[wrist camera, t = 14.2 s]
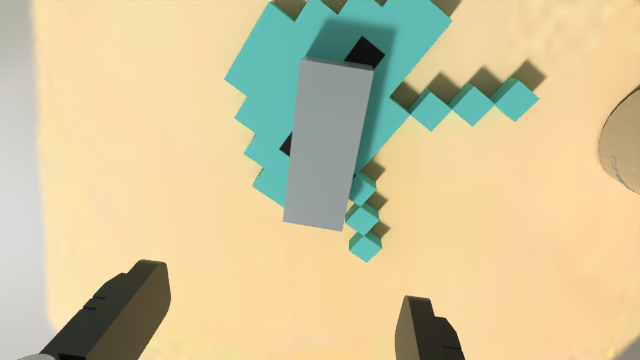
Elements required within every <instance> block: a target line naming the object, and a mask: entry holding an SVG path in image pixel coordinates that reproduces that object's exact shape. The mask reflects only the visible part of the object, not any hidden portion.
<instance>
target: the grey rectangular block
mask: <svg viewBox="0 0 640 360" xmlns="http://www.w3.org/2000/svg"><path fill="white" fill-rule="evenodd" d="M373 74H374V70H373V67H372V65H366V64H359V63H353V62H346V61H340V60H334V59H327V58H321V57H314V56H308V55H305V56H304V57H303V58H302V59H300V67H299V76H298V85H297V95H296V104H295V113H294V122H293V132H292V141H291V150H290V160H289V169H288V178H287V188H286V197H285V206H284V216H283V222H288V223H294V224H300V225H306V226H312V227H318V228H324V229H330V230H336V231H342V229H343V224H344V219H345V214H346V209H347V204H348V199H349V194H350V189H351V184H352V179H353V174H354V169H355V164H356V159H357V154H358V149H359V144H360V139H361V134H362V129H363V124H364V119H365V114H366V109H367V104H368V99H369V94H370V89H371V84H372V79H373Z"/></svg>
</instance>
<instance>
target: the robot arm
mask: <svg viewBox="0 0 640 360" xmlns="http://www.w3.org/2000/svg"><path fill="white" fill-rule="evenodd" d="M598 153H599V158H600V162H601V164H602V166H603V168H604V170H605V171H606V172H607V173H608V174H609V175H610V176H611V177H612V178H614V179H616V180H617V181H619V182H620V183H622V184H623V185H624V186H626V187H627V188H629V189H630V190H632V191H633V192H635V193H637V194H639V195H640V89H639V90H638V91H636V92H635V93H633V94H632V95H630V96H629V97H628V98H627V99H626V100H625V101H623V102H622V103H621V104H620V105H619V106H618V107H617V108H616V110H615V111H614V112H613V113H612V115H611V116H610V117H609V119H608V121H607V122H606V124H605V126H604V128H603V130H602V133H601V136H600V139H599V148H598ZM170 302H171V293H170V285H169V278H168V271H167V265H166V263H164V262H159V261H151V260H144V259H141V260H139V261H138V262H137V263H136V264H135V265H134V266H133V268H132V269H131V270H130V271H129V272H128V273H127V274H126V273H120V274H119V275H117V276H115V277H114V278H112V279H111V280H109V281H107V282H106V283H105V284H104V285H103V286H102V287H101V288H100V289H99V290H98V291H97V292H96V293H95V294H94V295H93V298H92V299H90V300H89V301H88V302H87V303H86V304H85V305H84V306H83V309H80V310H79V311H78V312H77V314H76V315H75V316H74V317H73V318H72V319H71V320H70V321H69V322H68V323H67V324H66V325H65V326H64V327H63V329H62V330H61V331H60V332H59V333H58V334H57V335H56V336H55V337H54V338H53V339H52V340H51V341H50V342H49V344H48V345H47V346H46V347H45V348H44V349H43V350H42V351H41V352H40V353H39V354H35V355H30V356H26V357H23V358H21V359H18V360H138V359H139V357H140V355H141V354H142V352H143V351H144V349H145V347H146V346H147V344H148V343H149V341H150V340H151V338H152V336H153V335H154V333H155V332H156V330H157V328H158V327H159V325H160V324H161V322H162V321H163V319H164V317H165V316H166V314H167V312H168V309H169V306H170ZM461 349H462V348H461V345H460V342H459V339H458V336H457V333H456V331H455V330H454V329H453V327H452V326H451V325H450V323H449V322H448V321H447V319H446V318H443V317H436V316H434V312H433V308H432V304H431V301H430V299H428V298H421V297H414V296H407V295H406V296H405V297H404V300H403V304H402V307H401V311H400V315H399V319H398V323H397V326H396V331H395V352H396V360H465V358H464V354H463V352H462V351H461Z"/></svg>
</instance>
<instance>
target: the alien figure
mask: <svg viewBox="0 0 640 360" xmlns="http://www.w3.org/2000/svg"><path fill="white" fill-rule="evenodd" d="M451 22H452V20H451V19H450V18H449V17H448V16H447V15H446V14H445V13H443V12H442V11H441V10H440V9H439V8H438V7H437V6H436V5H435V4H433V3H432V2H431V1H430V0H386V2H385V3H384V4H383V6H382V7H381V6H380V5H379V4H378V3H377V2H376V1H374V0H348V1H347V2H346V4H345V5H344V7H343V8H342V10H341V11H340V12H339V14H337V13H335V12H334V11H333V10H332V9H331V8H329V7H328V6H327V5H326V4H324V3H323V2H322V1H321V0H308V2H307V3H306V5H305V7H304V8H303V10H302V11H301V13H300V15H299V16H298V18H297V19H296V20H294V19H293V18H292V17H291V16H289V15H288V14H287V13H286V12H284V11H283V10H282V9H281V8H279V7H278V6H277V5H276V4H274V3H272V2H269V3H268V4H267V6H266V8H265V10H264V11H263V13H262V15H261V16H260V18H259V20H258V22H257V23H256V25H255V27H254V28H253V30H252V32H251V34H250V35H249V37H248V39H247V40H246V42H245V44H244V46H243V47H242V49H241V51H240V52H239V54H238V56H237V58H236V59H235V61H234V63H233V64H232V66H231V68H230V70H229V71H228V73H227V75H226V76H225V78H224V80H226V81H227V82H229V83H230V84H231V85H233V86H234V87H235V88H237V89H238V90H240V91H241V92H242V93H244V94H245V95H246V96H248V97H247V98H246V100H245V102H244V103H243V105H242V106H241V108H240V109H239V111H238V113H237V114H236V116H235V117H234V118H235V119H236V120H238V121H239V122H240V123H242V124H243V125H245V126H246V127H248V128H249V129H250V130H252V131H253V132H255V133H256V136H255V137H254V139H253V140H252V142H251V143H250V144H249V146H248V147H247V149H246V150H245V152H244V153H243V154H245V155H246V156H248V157H249V158H251V159H252V160H254V161H255V162H257V163H258V164H259V165H261V166H262V167H264V169H263V170H262V171H261V173H260V174H259V175H258V177H257V178H256V180H255V182H254V183H253V185H252V186H253V187H254V188H256V189H257V190H259V191H260V192H262V193H263V194H265V195H266V196H268V197H269V198H271V199H272V200H274V201H275V202H277V203H278V204H280V205H281V206H283V207H284V206H285V197H286V188H287V178H288V169H289V160H290V150H291V141H292V132H293V122H294V113H295V104H296V95H297V85H298V76H299V67H300V59H302V58H303V57H304V56H305V55H308V56H314V57H321V58H327V59H334V60H340V61H346V62H353V63H359V64H366V65H372V67H373V70H374V74H373V79H372V84H371V89H370V94H369V99H368V104H367V109H366V114H365V119H364V124H363V129H362V134H361V139H360V144H359V149H358V154H357V159H356V164H355V169H354V174H353V179H352V184H351V189H350V194H349V199H350V200H351V201H353V202H354V203H355V204H354V206H353V207H352V208H351V209H350V210H349V211H348V212H347V213H346V214H345V223H346V224H347V225H349V226H350V227H352V228H353V229H355V230H356V231H357V232H358V233H357V234H356V235H355V236H354V237H353V238H352V239H351V240H350V241H349V251H350V252H352V253H353V254H355V255H356V256H358V257H359V258H361V259H362V260H364V261H365V262H368V261H369V260H370V259H371V258H372V257H373V256H374V255H376V254H377V253H378V252H379V251H380V250H381V249H382V244H381V238H379V237H378V236H376V235H375V234H373V233H372V232H370V231H369V230H370V229H371V228H372V227H373V226H374V225H375V224H376V223H377V222H378V221H379V213H378V211H377V210H376V209H374V208H373V207H371V206H370V205H369V204H367V203H366V202H365V201H366V200H367V199H368V198H369V197H370V196H371V195H372V194H373V193H374V192H375V191H376V190H377V189H376V182H375V181H374V180H372V179H371V178H369V177H368V176H367V175H365V174H364V173H363V172H361V170H362V169H363V168H364V166H365V165H366V164H367V163H368V162H369V161H370V160H371V159H372V157H373V156H374V155H375V154H376V153H377V152H378V151H379V150H380V148H381V147H382V146H383V145H384V144H385V143H386V142H387V141H388V139H389V138H390V137H391V136H392V135H393V134H394V133H395V131H396V130H397V129H398V128H399V127H400V126H401V125H402V124H403V122H404V121H405V120H406V119H407V118H408V117H409V116H410V115H411V116H412V117H414V118H415V119H416V120H417V121H419V122H420V123H421V124H422V125H424V126H425V127H426V128H427V129H429V130H430V131H432V130H433V129H434V128H435V127H436V126H437V125H438V124H439V123H440V122H441V121H442V120H443V119H444V118H445V116H446V115H447V114H448V113H449V112H450V111H451V110H453V111H454V112H455V113H457V114H458V115H459V116H460V117H461V118H463V119H464V120H465V121H466V122H468V123H469V124H470V125H471V126H472V127H473V126H474V125H475V124H476V123H477V122H478V121H479V120H480V119H481V118H482V117H483V116H484V115H485V114H486V113H487V112H488V111H489V110H490V109H491V108H492V107H493V106H496V107H497V108H498V109H499V110H500V111H501V112H503V113H504V114H505V115H506V116H507V117H509V118H510V119H512V120H513V121H515V122H516V121H517V120H518V119H519V118H520V117H521V116H522V115H523V114H524V113H525V112H526V111H527V110H528V109H529V108H530V107H531V106H532V105H534V104H535V103H536V102H537V101H538V100H539V98H538V97H537V96H536V95H535V94H534V93H533V92H532V91H530V90H529V89H528V88H527V87H526V86H525V85H524V84H523V83H522V82H520V81H519V80H517V79H515V78H512V77H510V78H509V79H508V80H507V81H506V82H505V83H504V84H503V85H502V86H501V87H500V88H499V89H498V90H497V91H496V92H495V93H494V94H493V95H492V96H491V97H490V98H489V99H488V98H487V97H486V96H485V95H484V94H483V93H481V92H480V91H479V90H478V89H477V88H476V87H474V86H473V85H471V84H469V83H467V84H466V85H465V86H464V87H463V88H462V89H461V90H460V92H459V93H458V94H457V95H456V96H455V97H454V98H453V99H452V100H451V101H450V102H449V103H448V104H447V105H446V104H445V103H444V102H443V101H442V100H440V99H439V98H438V97H437V96H436V95H434V94H433V93H432V92H431V91H430V90H428V89H427V88H426V89H425V91H424V92H423V93H422V94H421V95H420V96H419V97H418V99H417V100H416V101H415V102H414V103H413V104H412V105H411V107H410V108H409V109H408V110H407V109H406V108H404V107H403V106H402V105H401V104H399V103H398V102H397V101H396V100H394V99H393V98H392V97H391V96H390V95H391V94H392V93H393V92H394V91H395V89H396V88H397V87H398V86H399V85H400V83H401V82H402V81H403V80H404V79H405V77H406V76H407V75H408V74H409V73H410V71H411V70H412V69H413V68H414V67H415V65H416V64H417V63H418V62H419V61H420V59H421V58H422V57H423V56H424V55H425V53H426V52H427V51H428V50H429V49H430V47H431V46H432V45H433V44H434V43H435V41H436V40H437V39H438V38H439V37H440V35H441V34H442V33H443V32H444V31H445V29H446V28H447V27H448V26H449V25H450V23H451Z"/></svg>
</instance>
